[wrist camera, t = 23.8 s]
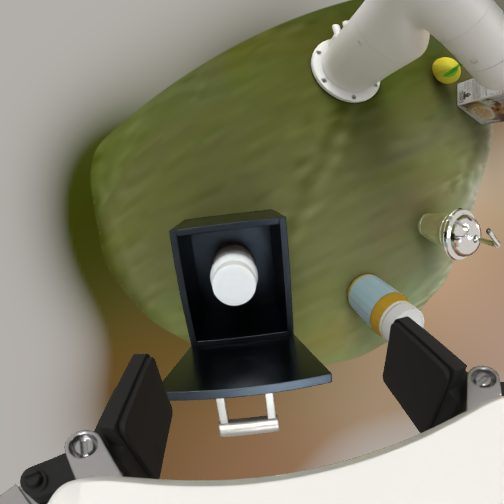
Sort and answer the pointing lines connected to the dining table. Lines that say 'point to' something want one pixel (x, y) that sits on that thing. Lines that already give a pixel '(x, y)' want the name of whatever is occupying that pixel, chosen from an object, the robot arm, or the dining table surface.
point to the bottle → (380, 304)
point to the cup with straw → (454, 232)
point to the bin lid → (245, 377)
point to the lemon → (446, 70)
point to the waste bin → (267, 289)
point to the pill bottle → (234, 274)
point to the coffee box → (480, 102)
